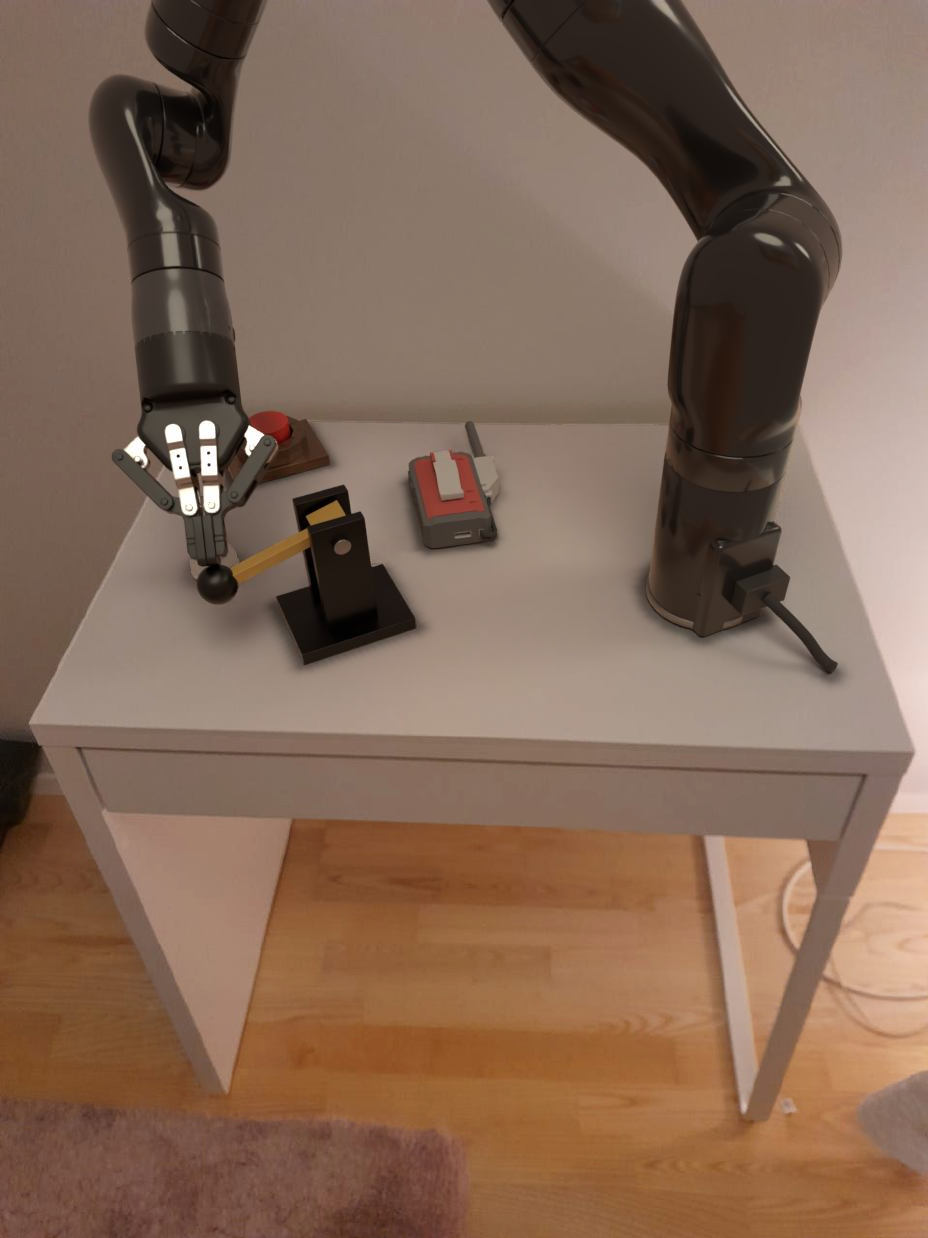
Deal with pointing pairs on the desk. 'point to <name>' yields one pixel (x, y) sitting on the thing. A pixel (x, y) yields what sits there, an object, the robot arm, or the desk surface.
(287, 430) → the button
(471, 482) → the walkie-talkie
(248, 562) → the lever
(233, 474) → the block
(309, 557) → the black lever base
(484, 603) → the desk surface
